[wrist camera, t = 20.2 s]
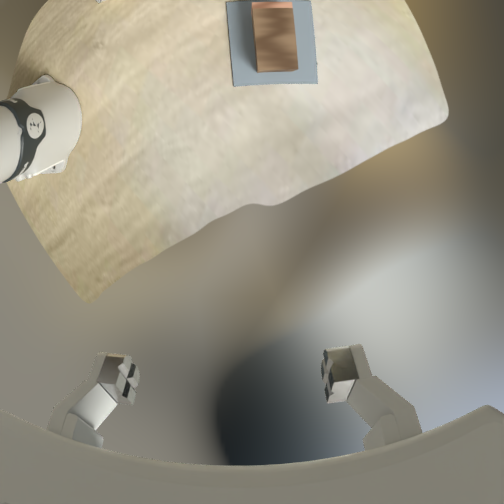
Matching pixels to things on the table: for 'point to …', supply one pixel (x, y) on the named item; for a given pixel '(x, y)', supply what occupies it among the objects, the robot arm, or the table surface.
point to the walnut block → (274, 37)
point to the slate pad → (245, 47)
